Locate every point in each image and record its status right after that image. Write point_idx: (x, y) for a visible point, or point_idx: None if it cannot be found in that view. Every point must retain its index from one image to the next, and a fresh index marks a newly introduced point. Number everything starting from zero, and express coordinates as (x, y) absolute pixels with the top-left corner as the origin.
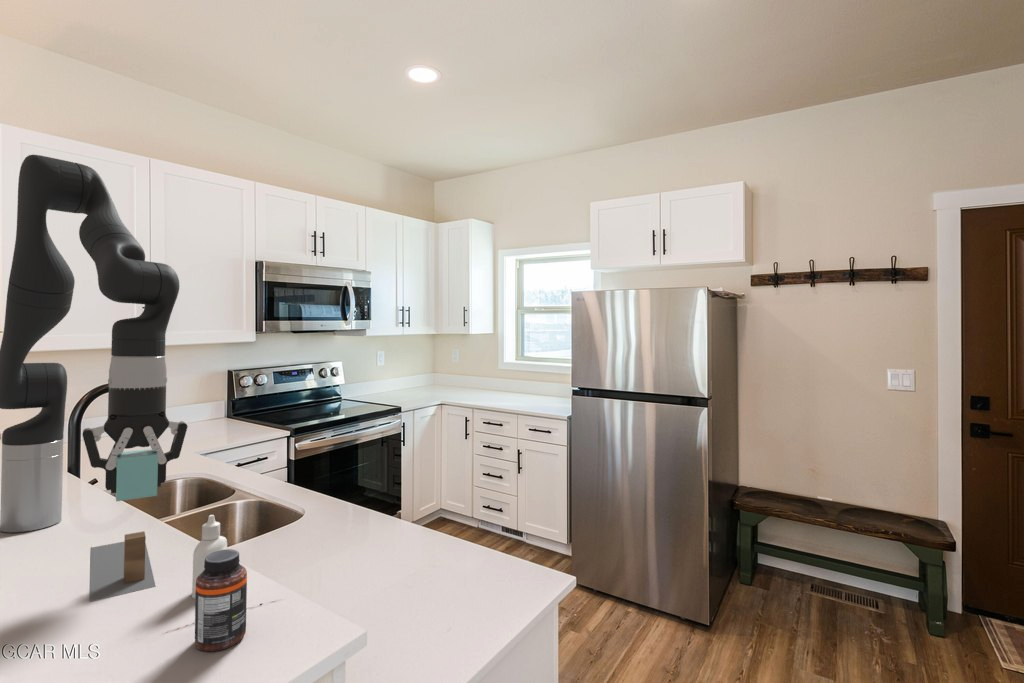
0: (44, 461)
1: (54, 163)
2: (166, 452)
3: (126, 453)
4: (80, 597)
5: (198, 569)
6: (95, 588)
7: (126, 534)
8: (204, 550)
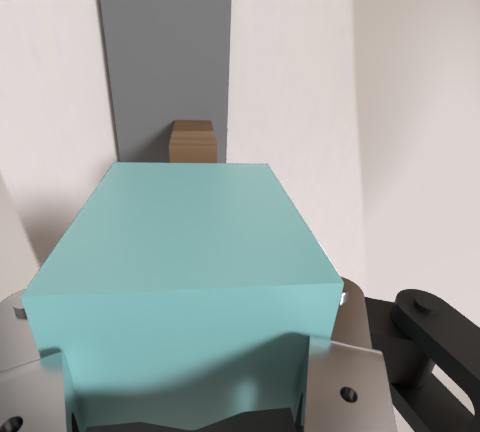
0: None
1: None
2: (381, 335)
3: (120, 364)
4: (105, 154)
5: None
6: (127, 142)
7: (173, 146)
8: None
